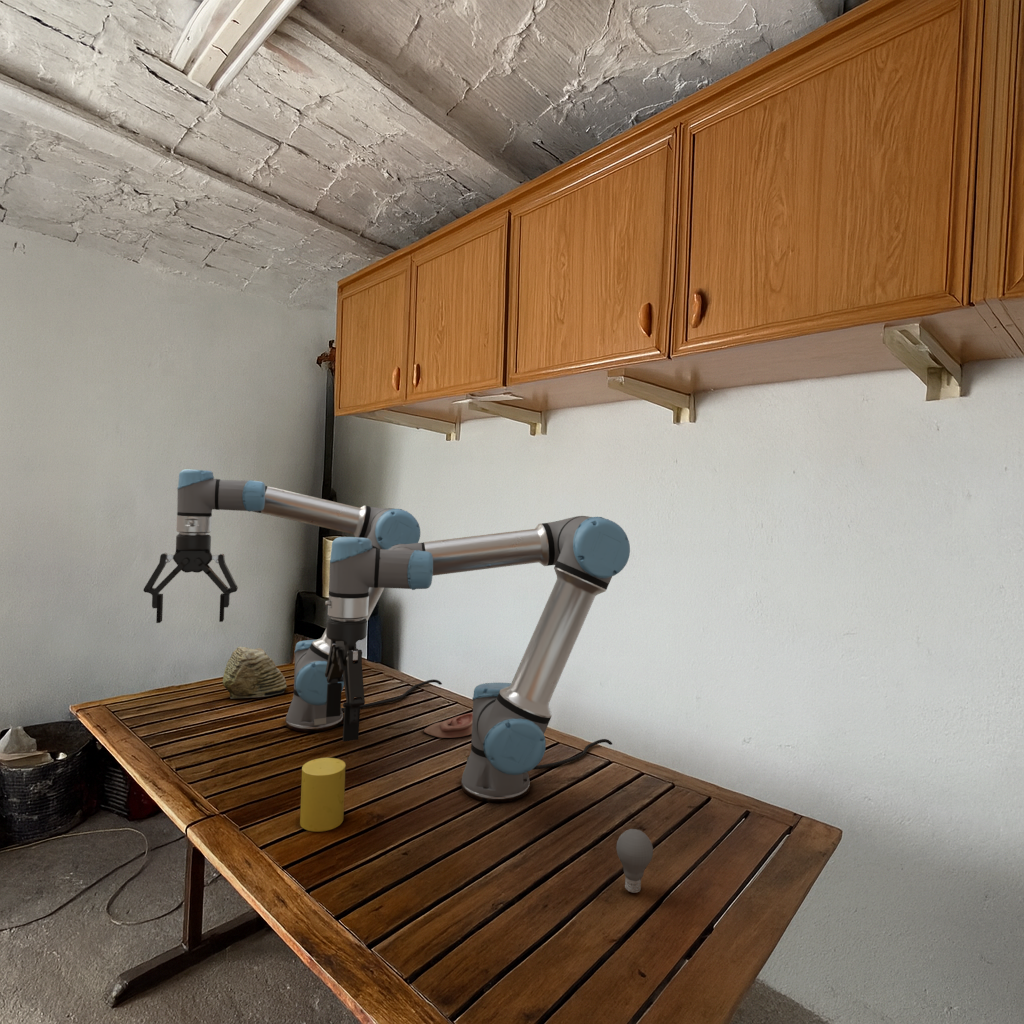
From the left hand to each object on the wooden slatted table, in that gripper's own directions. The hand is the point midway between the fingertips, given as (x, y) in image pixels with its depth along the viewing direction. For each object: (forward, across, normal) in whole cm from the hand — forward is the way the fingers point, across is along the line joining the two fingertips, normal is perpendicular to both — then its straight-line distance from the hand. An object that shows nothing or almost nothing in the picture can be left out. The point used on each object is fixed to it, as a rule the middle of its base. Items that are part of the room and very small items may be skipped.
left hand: (190, 621), depth 153 cm
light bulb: (+32, +79, -77) cm, 115 cm away
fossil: (+32, +13, +42) cm, 55 cm away
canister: (+32, +30, -42) cm, 60 cm away
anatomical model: (+32, +65, 0) cm, 73 cm away
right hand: (+12, +33, -44) cm, 57 cm away
